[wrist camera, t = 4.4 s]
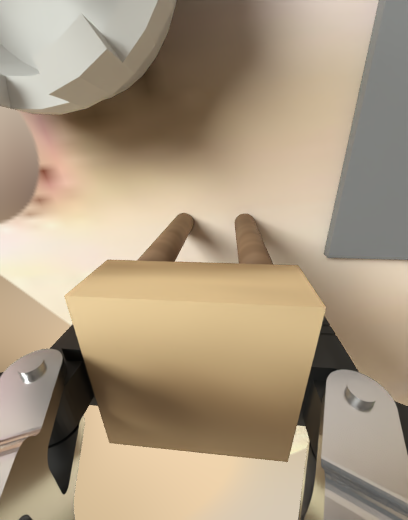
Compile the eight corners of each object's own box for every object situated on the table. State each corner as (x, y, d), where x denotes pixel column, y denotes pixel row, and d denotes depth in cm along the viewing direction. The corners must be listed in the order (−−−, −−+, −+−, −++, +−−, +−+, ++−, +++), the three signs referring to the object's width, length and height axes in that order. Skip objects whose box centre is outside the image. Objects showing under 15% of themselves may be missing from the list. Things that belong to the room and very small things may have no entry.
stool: (169, 208, 14) (64, 295, 5) (260, 208, 14) (325, 307, 5) (174, 286, 16) (109, 443, 7) (253, 288, 16) (287, 461, 7)
